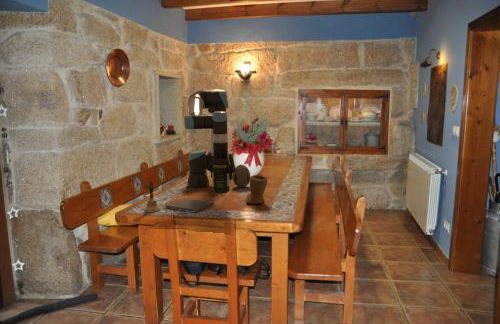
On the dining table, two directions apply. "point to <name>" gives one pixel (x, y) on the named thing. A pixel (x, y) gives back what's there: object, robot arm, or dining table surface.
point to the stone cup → (257, 189)
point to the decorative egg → (241, 176)
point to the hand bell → (151, 200)
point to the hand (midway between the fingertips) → (221, 184)
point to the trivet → (190, 205)
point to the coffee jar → (220, 175)
